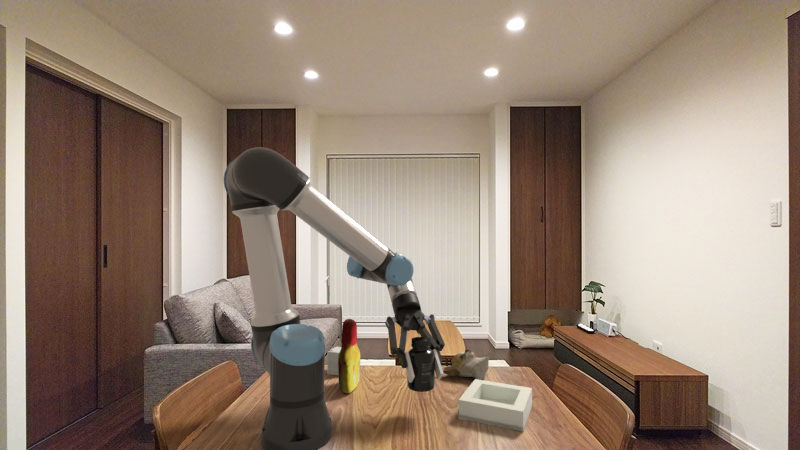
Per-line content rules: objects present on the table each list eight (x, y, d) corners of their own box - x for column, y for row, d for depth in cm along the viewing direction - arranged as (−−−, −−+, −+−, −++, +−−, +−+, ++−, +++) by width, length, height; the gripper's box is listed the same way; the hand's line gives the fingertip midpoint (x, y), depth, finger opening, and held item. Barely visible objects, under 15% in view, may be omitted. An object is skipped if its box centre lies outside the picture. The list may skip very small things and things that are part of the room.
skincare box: (352, 370, 129) (352, 347, 129) (343, 376, 123) (343, 353, 123) (336, 368, 131) (336, 346, 131) (326, 374, 125) (326, 351, 125)
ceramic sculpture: (481, 356, 115) (436, 351, 123) (483, 386, 114) (437, 379, 122) (494, 347, 123) (451, 343, 132) (496, 375, 123) (452, 370, 131)
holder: (458, 418, 94) (458, 399, 95) (475, 395, 108) (475, 379, 108) (523, 431, 88) (523, 411, 88) (532, 405, 101) (531, 388, 101)
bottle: (356, 397, 107) (356, 323, 108) (333, 396, 108) (333, 323, 108) (362, 380, 119) (362, 314, 120) (342, 380, 120) (342, 314, 120)
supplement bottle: (434, 383, 101) (435, 336, 101) (434, 393, 94) (435, 343, 94) (407, 381, 101) (408, 334, 102) (405, 391, 94) (406, 341, 95)
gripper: (432, 306, 116) (457, 381, 100) (368, 309, 109) (383, 389, 93) (440, 290, 111) (468, 366, 95) (373, 292, 105) (390, 374, 89)
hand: (426, 377), depth 94 cm, fingers closed on supplement bottle, 7 cm apart
